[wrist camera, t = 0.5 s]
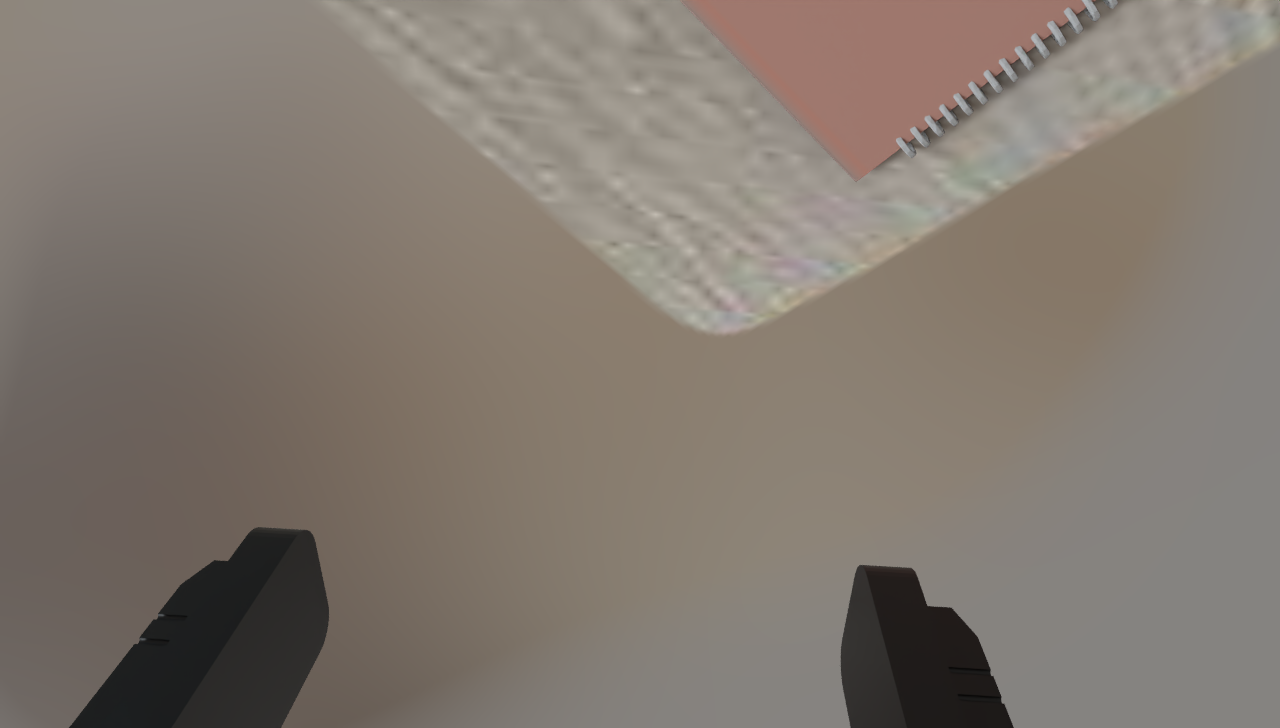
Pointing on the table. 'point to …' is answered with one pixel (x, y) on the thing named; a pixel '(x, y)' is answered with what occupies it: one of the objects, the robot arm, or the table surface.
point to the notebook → (883, 61)
